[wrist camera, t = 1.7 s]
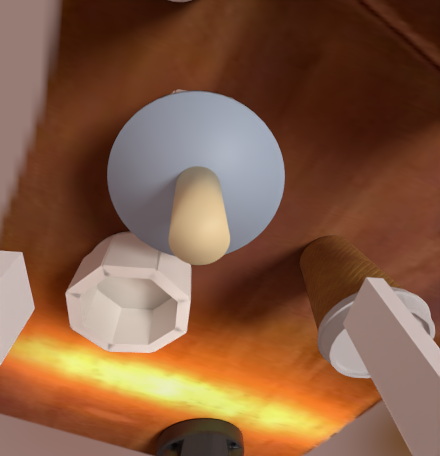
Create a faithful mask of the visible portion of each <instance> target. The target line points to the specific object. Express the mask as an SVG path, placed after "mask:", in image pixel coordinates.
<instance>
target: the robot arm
mask: <svg viewBox="0 0 440 456" xmlns="http://www.w3.org/2000/svg"><path fill="white" fill-rule="evenodd" d="M34 309H35V306H34V302H33V298H32V293H31V289H30V284H29V280H28V276H27V271H26V267H25V263H24V258H23V254H22V252H10V251H0V365H1V364H2V362H3V360H4V359H5V357H6V355H7V354H8V352H9V351H10V349H11V347H12V346H13V344H14V342H15V341H16V339H17V337H18V336H19V334H20V332H21V331H22V329H23V328H24V326H25V324H26V323H27V321H28V319H29V318H30V316H31V314H32V313H33V311H34ZM343 325H344V327H345V329H346V331H347V333H348V335H349V337H350V338H351V340H352V342H353V344H354V346H355V348H356V350H357V352H358V354H359V355H360V357H361V359H362V361H363V363H364V365H365V367H366V369H367V371H368V372H369V374H370V376H371V378H372V380H373V382H374V384H375V386H376V388H377V390H378V391H379V393H380V395H381V397H382V399H383V401H384V403H385V405H386V406H387V408H388V410H389V412H390V414H391V416H392V418H393V420H394V422H395V423H396V425H397V427H398V429H399V431H400V433H401V435H402V436H403V439H404V440H405V443H406V444H407V446H408V448H409V450H410V452H411V454H412V456H440V348H439V347H438V346H437V345H436V343H435V342H434V341H433V340H432V338H431V337H430V336H429V335H428V333H427V332H426V331H425V330H424V328H423V327H422V326H421V325H420V323H419V322H418V321H417V320H416V318H415V317H414V316H413V315H412V314H411V312H410V311H409V310H408V309H407V307H406V306H405V305H404V304H403V302H402V301H401V300H400V299H399V297H398V296H397V295H396V294H395V292H394V291H393V290H392V289H391V287H390V286H389V285H388V284H387V282H386V281H385V280H384V279H383V278H371V277H366V278H365V280H364V282H363V284H362V286H361V288H360V290H359V292H358V294H357V296H356V298H355V300H354V302H353V304H352V306H351V308H350V310H349V312H348V314H347V316H346V318H345V320H344V322H343ZM156 456H244V444H243V436H242V433H241V431H240V430H239V429H238V428H237V427H236V426H234V425H232V424H230V423H228V422H225V421H221V420H215V419H195V420H189V421H184V422H181V423H178V424H175V425H173V426H171V427H169V428H168V429H166V430H165V431H164V432H163V433H162V434H161V435H160V436H159V438H158V440H157V449H156Z"/></svg>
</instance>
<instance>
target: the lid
mask: <svg viewBox="0 0 440 456" xmlns="http://www.w3.org/2000/svg"><path fill="white" fill-rule="evenodd" d="M107 181H108V189H109V193H110V197H111V200H112V203H113V205H114V208H115V210H116V212H117V213H118V215H119V217H120V219H121V220H122V221H123V223H124V224H125V225H126V227H127V228H128V229H129V230H130V231H131V232H132V233H133V234H134V235H135V236H136V237H138V238H139V239H140V240H141V241H143V242H144V243H146V244H147V245H149V246H150V247H152V248H154V249H156V250H158V251H161V252H163V253H166V254H169V255H173V256H176V257H177V258H179V259H180V260H182V261H184V262H186V263H189V264H193V265H205V264H209V263H212V262H214V261H216V260H218V259H219V258H221V257H222V256H223V255H224V254H227V253H230V252H233V251H235V250H237V249H239V248H241V247H243V246H244V245H246V244H248V243H249V242H250V241H252V240H253V239H255V238H256V237H257V236H258V235H259V234H260V233H261V232H262V231H263V230H264V229H265V228H266V226H267V225H268V224H269V223H270V221H271V220H272V218H273V217H274V215H275V213H276V211H277V209H278V207H279V204H280V201H281V198H282V195H283V190H284V181H285V172H284V163H283V158H282V154H281V151H280V148H279V146H278V143H277V141H276V140H275V138H274V136H273V134H272V132H271V131H270V130H269V128H268V127H267V126H266V124H265V123H264V122H263V121H262V120H261V119H260V118H259V117H258V116H257V115H256V114H255V113H254V112H253V111H252V110H250V109H249V108H248V107H246V106H245V105H243V104H242V103H240V102H238V101H236V100H234V99H232V98H230V97H227V96H224V95H222V94H218V93H214V92H209V91H197V90H194V91H181V92H177V93H172V94H169V95H166V96H163V97H160V98H158V99H156V100H154V101H152V102H151V103H149V104H147V105H146V106H144V107H143V108H142V109H140V110H139V111H138V112H137V113H136V114H135V115H134V116H133V117H132V118H131V119H130V120H129V121H128V122H127V123H126V124H125V126H124V127H123V129H122V130H121V131H120V133H119V134H118V136H117V138H116V140H115V142H114V144H113V147H112V150H111V153H110V156H109V161H108V169H107Z"/></svg>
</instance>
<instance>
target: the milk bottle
mask: <svg viewBox="0 0 440 456" xmlns="http://www.w3.org/2000/svg"><path fill="white" fill-rule="evenodd" d="M169 1H174V2H186V1H191V0H169Z"/></svg>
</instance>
